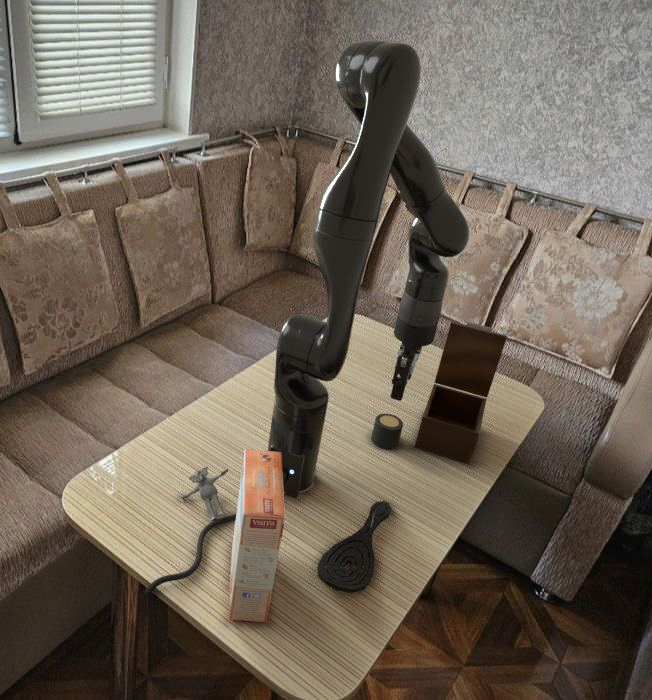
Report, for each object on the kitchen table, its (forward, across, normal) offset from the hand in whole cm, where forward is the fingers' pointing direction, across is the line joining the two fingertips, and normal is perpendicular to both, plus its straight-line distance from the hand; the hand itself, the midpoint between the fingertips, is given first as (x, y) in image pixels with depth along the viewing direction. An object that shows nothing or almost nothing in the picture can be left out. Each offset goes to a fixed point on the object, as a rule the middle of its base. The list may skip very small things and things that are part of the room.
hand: (400, 388), depth 132 cm
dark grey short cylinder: (+13, +1, 0) cm, 13 cm away
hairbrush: (+13, +32, +2) cm, 35 cm away
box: (+13, -7, +11) cm, 18 cm away
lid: (-3, -13, +11) cm, 18 cm away
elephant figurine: (+13, +35, -24) cm, 44 cm away
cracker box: (+13, +48, -11) cm, 51 cm away
